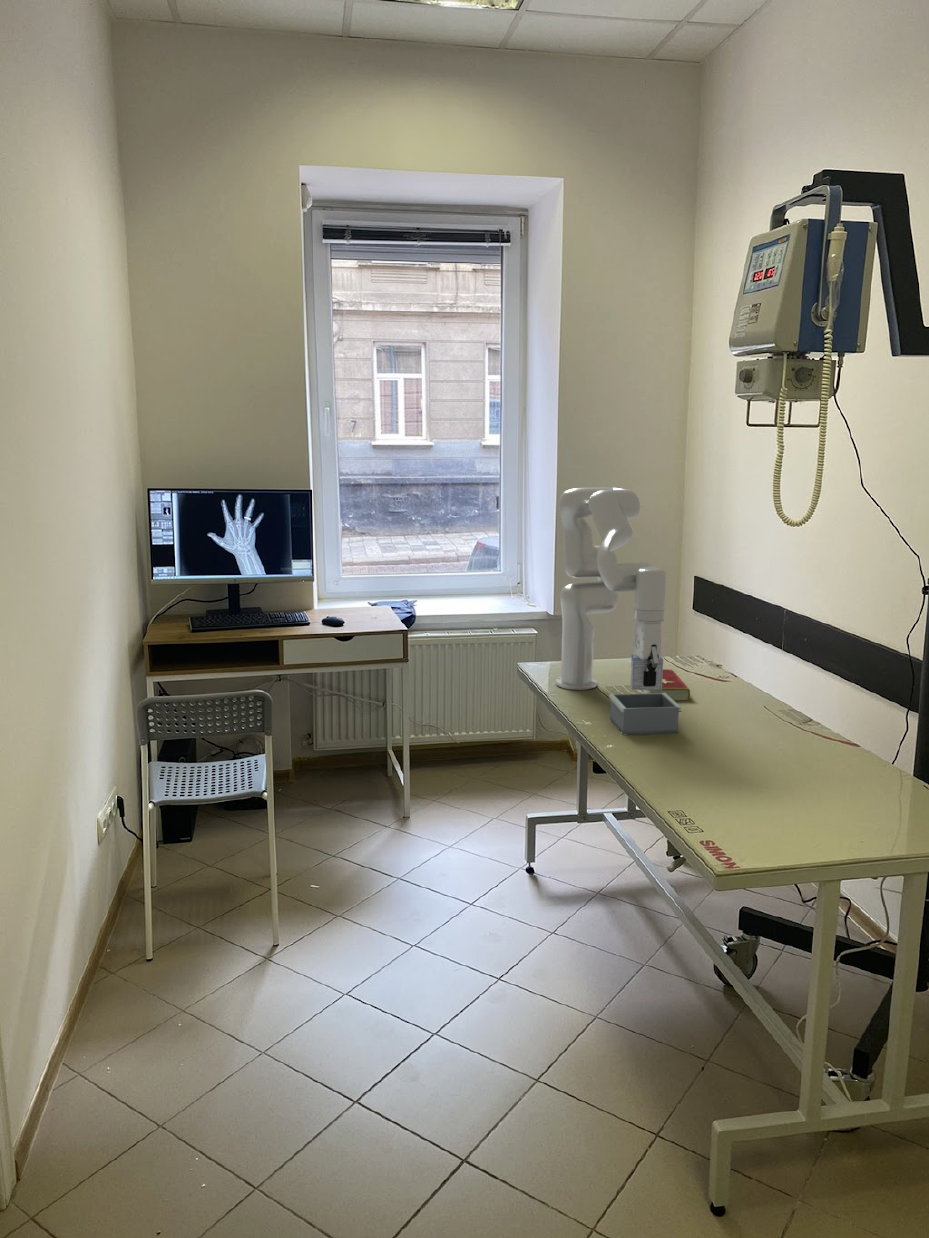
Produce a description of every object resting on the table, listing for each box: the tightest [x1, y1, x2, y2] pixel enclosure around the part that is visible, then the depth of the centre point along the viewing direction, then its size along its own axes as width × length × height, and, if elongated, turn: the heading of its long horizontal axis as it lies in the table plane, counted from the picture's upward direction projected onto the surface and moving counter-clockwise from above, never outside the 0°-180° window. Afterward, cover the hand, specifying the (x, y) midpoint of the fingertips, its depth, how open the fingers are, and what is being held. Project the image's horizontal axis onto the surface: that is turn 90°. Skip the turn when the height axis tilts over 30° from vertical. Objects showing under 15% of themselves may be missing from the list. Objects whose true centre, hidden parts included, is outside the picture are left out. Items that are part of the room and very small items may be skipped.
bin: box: [608, 693, 682, 735], centre depth 242 cm, size 13×16×7 cm
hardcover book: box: [642, 668, 691, 701], centre depth 275 cm, size 12×21×4 cm, turn 1°
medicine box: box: [630, 653, 664, 691], centre depth 240 cm, size 8×4×9 cm, turn 85°
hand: (645, 682), depth 240 cm, fingers closed on medicine box, 5 cm apart
